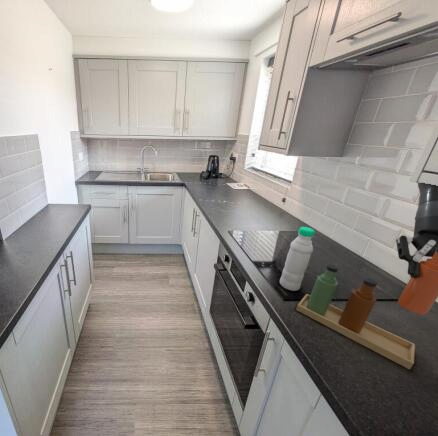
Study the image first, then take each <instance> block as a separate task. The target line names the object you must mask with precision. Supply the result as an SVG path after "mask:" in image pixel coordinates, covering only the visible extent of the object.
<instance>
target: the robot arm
mask: <svg viewBox="0 0 438 436" xmlns="http://www.w3.org/2000/svg"><path fill="white" fill-rule="evenodd" d="M417 187H418V191H419V196H418V204H417V209H416V213H415V216H414V227H413V237H407V236H406V235H400V237H398V238H396V239H395V242H396V249H397V256H398V259H400V260H402V261H405V262H407V263H408V265H407V274H408V275H409V276H410V277H409V278H417V277H419V271H420V263H419V262H420V261H422V259H423V258H424V257H426V258H432V257H433V255H434V253H435V251H436V248H437V247H438V186H436V185H431V184H425V183H418V182H417ZM410 244H412V245H413V247H414V248H415V249H416V251H414V252H413V253H412V255H411V254H410V252H411V251H410V248H409V245H410Z"/></svg>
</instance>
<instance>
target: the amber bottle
mask: <svg viewBox="0 0 438 436" xmlns="http://www.w3.org/2000/svg"><path fill="white" fill-rule="evenodd" d="M377 285H378V281H377V280H375V279H373V278H369V277H364V279H363V280H362V285H361V286H360V287H358V288H355V289H352V291H351V293H350V295H349V298H348V299H347V302H346V303H345V306H344V308H343V309H342V310H343V313H342V315H341V317H340V319H339V322H338V323H339V325H341V326H343V327H345V328H347V329H349V330H351V331H353V332H355V333H357V334H359V333H360V332H361V330H362V328H363V326H364V324H365V322H366V321H367V320H368V318H369V315H370V314H371V312H372V310H373V308H374V306H375V304H376V302H377V298H376V297H375V293H374V290H375V288H376V287H377Z"/></svg>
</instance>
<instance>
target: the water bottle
mask: <svg viewBox="0 0 438 436" xmlns="http://www.w3.org/2000/svg"><path fill="white" fill-rule="evenodd" d="M297 234H298V236H297V237H295V238H294V240H292V241H291V243H290V246H289V249H288V252H287V255H286V259H285V261H284V262H285V263H284V267H283V269H282V272H281V276H280V278H279V284H280V286H281V287H282V288H284V289H286V290H288V291H290V292H291V291H292V292H295V291H296V292H297V291H299V290H300V289H301V286H302V283H303V282H302V281H303V279H304V277H305V273H306V271H307V268H308V265H309V262H310V260H311V255H312V253H313V251H314V246H313V241H312V238H313V237H314V236H315V230H314V229H313V228H311V227H307V226H301V227H299V229H298V231H297Z"/></svg>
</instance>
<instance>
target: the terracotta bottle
mask: <svg viewBox="0 0 438 436" xmlns="http://www.w3.org/2000/svg"><path fill="white" fill-rule="evenodd" d="M419 263H420V271H419V277H417V278H411V277H409V280H408V282H407V283H406V285H405V287H404V289H403V290H402V293H401V294H400V296H399V298H398V300H397V303H398V304H399V305H400V306H401V307H402V308H404V309H406V310H407V311H410V312H412V313H415V314H418V315H427V314H428V313H429V312H430V310H431V308H432V307H433V305H434V304H435V302H436V300H437V299H438V247H437V248H436V251H435V253H434V255H433V257H430V258H427V259H426V260H420V261H419Z"/></svg>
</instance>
